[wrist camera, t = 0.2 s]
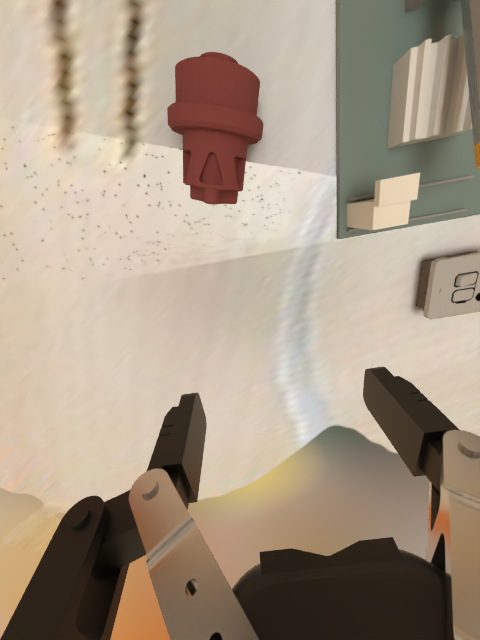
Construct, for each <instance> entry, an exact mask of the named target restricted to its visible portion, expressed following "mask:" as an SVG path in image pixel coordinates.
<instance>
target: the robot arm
mask: <svg viewBox="0 0 480 640" xmlns="http://www.w3.org/2000/svg"><path fill="white" fill-rule="evenodd" d="M363 397H364V401H365V404H366V406H367V408H368V410H369V411H370V412H371V414H372V415H373V417H374V418H375V420H376V421H377V423H378V424H379V426H380V427H381V429H382V430H383V432H384V433H385V435H386V436H387V438H388V439H389V440H390V442H391V443H392V445H393V446H394V448H395V449H396V451H397V452H398V454H399V455H400V457H401V458H402V460H403V461H404V462H405V464H406V465H407V467H408V468H409V470H410V471H411V473H412V474H413V476H422V475H426V476H427V478H428V479H429V480H430V486H429V518H428V541H427V547H426V555H425V559H423V558H421V557H419V556H417V555H414V554H412V553H409V552H406V551H404V550H400V549H398V548H397V545H396V543H395V541H394V539H393V537H391V538H381V539H372V540H363V541H358V542H356V543H354V544H352V545H350V546H349V547H346V548H345V549H343V550H341V551H339V552H337V553H335V554H333V555H330V556H323V555H319V554H314V553H310V552H305V551H301V550H296V549H283V550H274V551H265V552H260V562H261V563H260V564H258V565H256V566H254V567H253V568H252V569H250V570H249V571H248V572H246V573H245V574H244V576H242V577H241V578H240V580H239V581H238V582H237V583H236V585H235V586H234V587H233V589H231V587H230V585H229V583H228V582H227V580H226V578H225V576H224V574H223V572H222V571H221V569H220V567H219V565H218V563H217V562H216V560H215V558H214V556H213V554H212V552H211V551H210V549H209V547H208V545H207V544H206V541H205V540H204V538H203V536H202V534H201V532H200V530H199V529H198V527H197V525H196V523H195V522H194V520H193V519H192V518H191V516H190V514H189V513H188V511H187V510H188V504H189V503H193V502H197V499H198V491H199V483H200V475H201V467H202V459H203V451H204V443H205V435H206V417H205V413H204V410H203V406H202V403H201V399H200V396H199V394H198V393H191V394H184V395H182V396H181V399H180V403H179V406H178V407H172V408H171V409H170V411H169V412H168V413H167V415H166V416H165V418H164V421H163V424H162V428H161V430H160V433H159V437H158V439H157V442H156V445H155V448H154V451H153V454H152V457H151V460H150V463H149V466H148V469H147V472H145V473H144V474H142V475H141V476H140V477H139V478H138V479H137V480H136V481H135V483H134V484H133V486H132V488H131V489H130V490H129V491H127V492H125V493H123V494H121V495H119V496H117V497H114V498H112V499H110V500H108V501H106V502H104V501H103V500H102V499H101V498H100V497H98V496H90V497H86V498H84V499H82V500H81V501H79V502H78V503H76V504H75V505H74V506H73V507H72V508H71V509H70V510H69V511H68V512H67V513H66V514H65V516H64V517H63V518H62V520H61V522H60V524H59V526H58V528H57V529H56V531H55V533H54V535H53V537H52V539H51V541H50V543H49V545H48V547H47V549H46V551H45V553H44V555H43V557H42V559H41V561H40V563H39V565H38V567H37V569H36V571H35V573H34V575H33V577H32V578H31V580H30V583H29V584H28V586H27V588H26V590H25V592H24V594H23V596H22V598H21V600H20V602H19V604H18V606H17V608H16V610H15V612H14V614H13V616H12V618H11V620H10V622H9V624H8V626H7V628H6V630H5V631H4V634H3V636H2V637H1V639H0V640H110V638H111V634H112V630H113V626H114V622H115V618H116V614H117V610H118V606H119V603H120V599H121V595H122V590H123V587H124V583H125V579H126V574H127V570H128V567H129V563H131V562H133V561H135V560H136V559H138V558H140V557H142V556H144V555H147V558H148V560H147V567H148V571H149V574H150V578H151V580H152V584H153V587H154V590H155V593H156V596H157V599H158V603H159V606H160V609H161V612H162V615H163V618H164V621H165V624H166V627H167V630H168V634H169V637H170V640H480V436H478V435H475V434H473V433H470V432H467V431H462V430H459V429H458V428H457V427H456V426H455V425H454V424H453V423H452V422H451V421H450V420H449V419H448V418H447V417H446V416H445V415H444V414H443V413H442V412H441V411H440V410H439V409H438V408H437V407H436V406H434V405H433V404H432V403H431V402H430V401H428V399H427V398H426V397H425V396H424V395H423V394H422V393H420V391H419V390H418V389H417V388H416V387H415V386H414V385H413V384H412V383H410V382H409V381H407V380H405V379H403V378H401V377H400V376H396V377H394V376H393V375H392V374H391V373H390V372H389V371H388V370H387V369H386V368H385V367H377V368H370V369H366V370H365V376H364V389H363Z"/></svg>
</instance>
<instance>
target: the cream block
mask: <svg viewBox="0 0 480 640" xmlns="http://www.w3.org/2000/svg"><path fill="white" fill-rule="evenodd" d="M419 179H420V173H415V174H410V175H404V176H399V177H394V178H388V179H383V180H378V181H375V198H374V199H370V200H365V201H359V202H354V203H348V204H347V227H351V228H359V229H367V230H377V229H382V228H388V227H394V226H399V225H405V224H408V220H409V211H410V202H411V200H417V196H418V188H419Z"/></svg>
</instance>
